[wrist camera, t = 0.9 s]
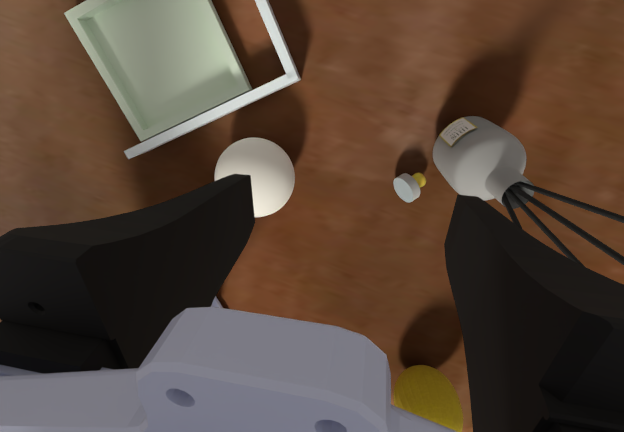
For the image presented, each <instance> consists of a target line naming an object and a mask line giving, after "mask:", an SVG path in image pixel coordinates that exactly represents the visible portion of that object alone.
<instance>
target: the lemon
mask: <svg viewBox="0 0 624 432" xmlns="http://www.w3.org/2000/svg"><path fill="white" fill-rule="evenodd" d="M394 405H395V406H396V407H399V408H401V409H403V410H406V411H408V412H411V413H413V414H416V415H418V416H421V417H423V418H426V419H428V420H430V421H433V422H435V423H438V424H440V425H443V426H445V427H448V428H450V429H452V430H455V431H457V432H462V428H463V414H462V408H461V405H460V401H459V398H458V395H457V393H456V391H455V389H454V387H453V386H452V384H451V383H450V381H449V380H448V379H447V378H446V376H445V375H443V374H442V373H441V372H440V371H438V370H437V369H435V368H432V367H430V366H426V365H415V366H411V367H409V368H407V369H406V370H404V371H403V372H402V373H401V374H400V376H399V377H398V379H397V381H396V383H395V388H394Z"/></svg>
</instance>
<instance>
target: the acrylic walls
mask: <svg viewBox="0 0 624 432" xmlns="http://www.w3.org/2000/svg"><path fill="white" fill-rule="evenodd" d="M255 2H256V4H257V6H258V9H259V11H260V13H261V16H262V18H263V21H264V23H265V25H266V28H267V30H268V32H269V35H270V37H271V39H272V42H273V44H274V46H275V49H276V51H277V54H278V56H279V58H280V61H281V63H282V65H283V68H284V70H285V72H286V74H285V75H283V76H281V77H279V78H277V79H275V80H273V81H271V82H269V83H266V84H264V85H262V86H260V87H258V88H256V89H254V90H252V91H250V92H247V93H245V94H243V95H241V96H239V97H237V98H235V99H233V100H231V101H229V102H226V103H224V104H222V105H220V106H218V107H216V108H214V109H212V110H210V111H207V112H205V113H203V114H201V115H199V116H197V117H195V118H193V119H191V120H189V121H186V122H184V123H182V124H180V125H178V126H176V127H174V128H172V129H170V130H167V131H165V132H163V133H161V134H159V135H157V136H155V137H153V138H151V139H148V140H146V141H144V142H142V143H140V144H138V145H136V146H134V147H132V148H130V149H127V150H125V151H124V153H125V154H126V156H127V157H128V159H130V158H133V157H136V156H138V155H141V154H143V153H146V152H148V151H150V150H153V149H155V148H157V147H159V146H161V145H163V144H165V143H167V142H170V141H172V140H174V139H176V138H178V137H180V136H182V135H185V134H187V133H189V132H191V131H193V130H195V129H197V128H200V127H202V126H204V125H206V124H208V123H210V122H212V121H214V120H217V119H219V118H221V117H223V116H225V115H227V114H229V113H232V112H234V111H236V110H238V109H240V108H242V107H244V106H246V105H249V104H251V103H253V102H255V101H257V100H259V99H261V98H264V97H266V96H268V95H270V94H272V93H274V92H276V91H279V90H281V89H283V88H285V87H287V86H289V85H291V84H293V83H296V82H298V81H300V80H301V78H300V76H299V73H298V71H297V68H296V66H295V64H294V61H293V59H292V56H291V54H290V51H289V49H288V47H287V44H286V42H285V39H284V37H283V34H282V32H281V30H280V27H279V25H278V22H277V20H276V17H275V15H274V13H273V10H272V8H271V5H270V3H269V0H255Z"/></svg>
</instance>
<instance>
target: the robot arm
mask: <svg viewBox="0 0 624 432" xmlns="http://www.w3.org/2000/svg"><path fill="white" fill-rule="evenodd" d="M254 224H255V217H254V206H253V196H252V185H251V175H243V174H232V175H229V176H226V177H223V178H221V179H219V180H216V181H214V182H212V183H209V184H207V185H205V186H203V187H200V188H198V189H196V190H193V191H191V192H189V193H186V194H183V195H181V196H178V197H176V198H173V199H171V200H168V201H166V202H163V203H160V204H157V205H154V206H150V207H147V208H144V209H140V210H137V211H133V212H128V213H124V214H120V215H115V216H111V217H106V218H101V219H95V220H90V221H83V222H76V223H69V224H61V225H50V226H39V227H27V228H16V229H13V230H11V231H9V232H7V233H6V234H4V235H2V236H1V237H0V319H1V320H3V321H2V322H0V432H457V431H455V430H452V429H450V428H448V427H445V426H443V425H440V424H438V423H435V422H433V421H430V420H428V419H426V418H423V417H421V416H418V415H416V414H413V413H411V412H408V411H406V410H403V409H401V408H399V407H396V406H394V405H391V374H390V369H389V364H388V360H387V355H386V354H385V353H384V352H382V351H381V350H380V349H379V348H378V347H377V346H376V345H375V344H374V343H372V342H371V341H370V340H369V339H368V338H367V337H365V336H364V335H361V334H358V333H356V332H353V331H350V330H347V329H344V328H341V327H338V326H333V325H327V324H320V323H314V322H308V321H302V320H295V319H289V318H283V317H276V316H270V315H264V314H257V313H251V312H245V311H239V310H232V309H226V308H223V307H222V305H221V304H220V302H219V301H218V299H217V297H216V294H217V293H218V291H219V289H220V287H221V285H222V284H223V282H224V281H225V279H226V277H227V276H228V274H229V272H230V271H231V269H232V267H233V266H234V264H235V262H236V261H237V259H238V257H239V256H240V254H241V252H242V251H243V249H244V247H245V245H246V244H247V241H248V239H249V237H250V234H251V232H252V229H253V226H254ZM444 245H445V258H446V267H447V272H448V277H449V281H450V285H451V289H452V292H453V296H454V300H455V304H456V308H457V312H458V316H459V320H460V324H461V329H462V333H463V340H464V347H465V355H466V362H467V371H468V380H469V389H470V400H471V411H472V423H473V432H624V285H623V284H621V283H618V282H616V281H614V280H611V279H609V278H607V277H605V276H603V275H601V274H598V273H596V272H594V271H592V270H590V269H588V268H586V267H584V266H582V265H580V264H578V263H576V262H574V261H572V260H571V259H569V258H567V257H565V256H563V255H562V254H560V253H558V252H556V251H554V250H553V249H551V248H549V247H548V246H546V245H545V244H543V243H541V242H540V241H538V240H537V239H535V238H534V237H532V236H531V235H529V234H528V233H527V232H525V231H524V230H522V229H521V228H519V227H518V226H517V225H515V224H514V223H513V222H511V221H510V220H509V219H507V218H506V217H505V216H503V215H502V214H501V213H500V212H498V211H497V210H496V209H494V208H493V207H492V206H490V205H489V204H488V203H486V202H485V201H484V200H482V199H481V198H479V197H477V196H467V195H457V199H456V203H455V206H454V210H453V214H452V218H451V222H450V225H449V229H448V233H447V237H446V240H445V244H444Z"/></svg>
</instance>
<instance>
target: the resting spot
mask: <svg viewBox="0 0 624 432" xmlns="http://www.w3.org/2000/svg"><path fill="white" fill-rule="evenodd" d="M64 14H65V16H66V18H67V19H68V21H69V23H70V24H71V26H72V28H73V29H74V31H75V33H76V34H77V36H78V38H79V39H80V41H81V43H82V44H83V46H84V48H85V49H86V51H87V53H88V54H89V56H90V58H91V59H92V61H93V63H94V64H95V66H96V68H97V69H98V71H99V73H100V74H101V76H102V78H103V79H104V81H105V83H106V84H107V86H108V88H109V89H110V91H111V93H112V94H113V96H114V98H115V99H116V101H117V103H118V104H119V106H120V108H121V109H122V111H123V113H124V114H125V116H126V118H127V119H128V121H129V123H130V124H131V126H132V128H133V129H134V131H135V133H136V134H137V136H138V138H139V139H140V141H144V140H147V139H150V138H152V137H154V136H156V135H158V134H160V133H162V132H165V131H167V130H169V129H171V128H173V127H175V126H177V125H179V124H181V123H183V122H186V121H188V120H190V119H192V118H194V117H196V116H198V115H200V114H202V113H205V112H207V111H209V110H211V109H213V108H215V107H217V106H219V105H221V104H223V103H226V102H228V101H230V100H232V99H234V98H236V97H238V96H240V95H242V94H244V93H247V92H249V91H251V90H253V89H252V87H251V85H250V83H249V81H248V78H247V76H246V74H245V72H244V70H243V68H242V65H241V63H240V61H239V59H238V57H237V55H236V52H235V50H234V48H233V46H232V44H231V42H230V39H229V37H228V35H227V33H226V31H225V29H224V26H223V24H222V22H221V20H220V18H219V16H218V14H217V11H216V9H215V7H214V5H213V3H212V1H211V0H86V1H84V2H82V3H81V4H79V5H77V6H75V7H74V8H72V9H70V10H68V11H67V12H65V13H64Z"/></svg>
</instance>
